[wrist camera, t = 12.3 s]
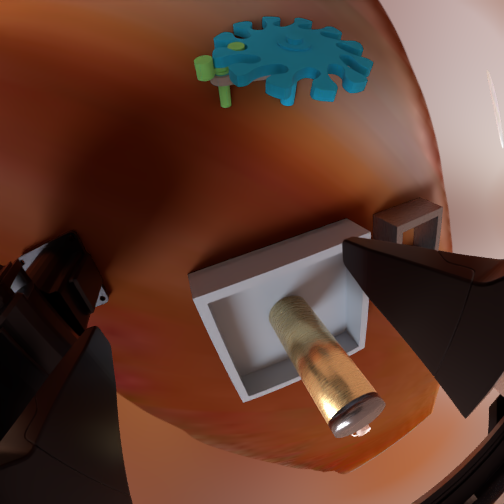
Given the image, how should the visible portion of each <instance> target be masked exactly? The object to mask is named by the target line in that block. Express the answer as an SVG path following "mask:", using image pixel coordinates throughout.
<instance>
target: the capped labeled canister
mask: <svg viewBox="0 0 504 504" xmlns="http://www.w3.org/2000/svg"><path fill="white" fill-rule="evenodd" d="M269 322H270V324H271V326H272V328H273V329H274V331H275V333H276V335H277V337H278V338H279V340H280V342H281V344H282V346H283V347H284V349H285V351H286V353H287V354H288V356H289V358H290V360H291V362H292V363H293V365H294V367H295V369H296V370H297V372H298V374H299V376H300V377H301V379H302V381H303V383H304V384H305V386H306V388H307V390H308V391H309V393H310V395H311V396H312V398H313V400H314V402H315V403H316V405H317V407H318V409H319V410H320V412H321V414H322V415H323V417H324V419H325V420H326V422H327V424H328V426H329V427H330V429H331V431H332V432H333V434H334V436H335V437H336V438H341V437H345V436H348V435H350V434H353V433H355V432H357V431H358V430H360V429H362V428H363V427H365V426H366V425H368V424H369V423H370V422H372V421H373V420H374V419H375V418H376V417H377V416H378V415H379V414H380V413H381V412H382V411H383V409H384V407H385V402H384V401H383V400H382V398H381V397H380V396H379V395H378V393H377V392H376V391H375V389H374V388H373V387H372V385H371V384H370V383H369V382H368V380H367V379H366V378H365V376H364V375H363V374H362V372H361V371H360V370H359V369H358V367H357V366H356V365H355V363H354V362H353V361H352V360H351V358H350V357H349V356H348V354H347V353H346V352H345V351H344V349H343V348H342V347H341V345H340V344H339V343H338V342H337V340H336V339H335V338H334V336H333V335H332V334H331V333H330V331H329V330H328V329H327V328H326V326H325V325H324V324H323V322H322V321H321V320H320V319H319V317H318V316H317V315H316V314H315V312H314V311H313V310H312V309H311V307H310V306H309V305H308V303H307V302H306V301H305V300H304V299H303V298H302V297H300V296H288V297H285V298H283V299H281V300H279V301H278V302H277V303H276V304H275V305H274V306H273V307H272V309H271V310H270V313H269Z"/></svg>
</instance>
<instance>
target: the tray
mask: <svg viewBox="0 0 504 504" xmlns="http://www.w3.org/2000/svg"><path fill="white" fill-rule="evenodd" d="M352 236H354V237H361V238H367V239H371V232H370V231H368V230H366V229H365V228H363V227H361V226H359V225H358V224H356V223H354V222H352V221H351V220H349V219H347V218H346V219H343V220H340V221H338V222H335V223H332V224H329V225H326V226H323V227H321V228H318V229H315V230H312V231H309V232H306V233H304V234H301V235H298V236H295V237H292V238H289V239H287V240H284V241H281V242H278V243H275V244H272V245H269V246H267V247H264V248H261V249H258V250H255V251H252V252H250V253H247V254H244V255H241V256H238V257H235V258H233V259H230V260H227V261H224V262H221V263H218V264H216V265H213V266H210V267H207V268H204V269H201V270H199V271H196V272H193V273H190V274H188V278H189V283H190V288H191V293H192V297H193V300H194V303H195V305H196V307H197V309H198V312H199V314H200V316H201V318H202V321H203V323H204V325H205V327H206V329H207V331H208V334H209V336H210V338H211V340H212V342H213V344H214V346H215V348H216V350H217V352H218V354H219V356H220V358H221V360H222V362H223V364H224V366H225V368H226V370H227V372H228V374H229V376H230V378H231V380H232V382H233V384H234V386H235V388H236V390H237V392H238V394H239V395H240V397H241V399H242V401H243V403H244V402H246V401H249V400H252V399H255V398H257V397H260V396H263V395H265V394H268V393H270V392H273V391H275V390H278V389H280V388H283V387H285V386H287V385H290V384H292V383H294V382H297V381H299V380H301V377H300V376H299V374H298V372H297V370H296V369H295V367H294V365H293V363H292V362H291V360H290V358H289V356H288V354H287V353H286V351H285V349H284V347H283V346H282V344H281V342H280V340H279V338H278V337H277V335H276V333H275V331H274V329H273V328H272V326H271V324H270V322H269V313H270V310H271V309H272V307H273V306H274V305H275V304H276V303H277V302H278V301H279V300H281V299H283V298H285V297H288V296H300V297H302V298H303V299H304V300H305V301H306V302H307V303H308V305H309V306H310V307H311V309H312V310H313V311H314V312H315V314H316V315H317V316H318V317H319V319H320V320H321V321H322V322H323V324H324V325H325V326H326V328H327V329H328V330H329V331H330V333H331V334H332V335H333V336H334V338H335V339H336V340H337V342H338V343H339V344H340V345H341V347H342V348H343V349H344V351H345V352H346V353H347V354H348V356H350V355H352V354H354V353H355V352H357V351H359V350H361V349H363V348H364V346H365V337H366V328H367V317H368V304H369V298H368V297H367V295H366V294H365V293H364V292H363V290H362V289H361V287H360V286H359V285H358V283H357V282H356V280H355V279H354V278H353V276H352V275H351V274H350V272H349V271H348V269H347V268H346V267H345V265H344V263H343V253H342V242H343V240H344V239H346V238H349V237H352Z"/></svg>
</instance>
